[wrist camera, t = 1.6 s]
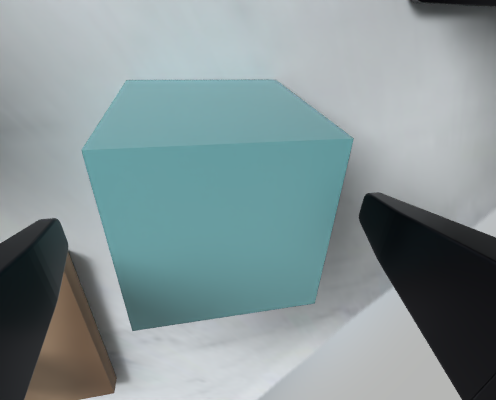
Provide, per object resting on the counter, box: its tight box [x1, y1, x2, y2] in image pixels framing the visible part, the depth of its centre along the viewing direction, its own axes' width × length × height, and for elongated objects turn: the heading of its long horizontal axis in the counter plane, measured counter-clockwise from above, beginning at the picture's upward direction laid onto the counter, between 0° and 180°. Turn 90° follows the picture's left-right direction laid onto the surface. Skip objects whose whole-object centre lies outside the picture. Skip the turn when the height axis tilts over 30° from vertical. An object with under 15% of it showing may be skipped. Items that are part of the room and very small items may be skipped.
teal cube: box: [82, 80, 354, 331], centre depth 11 cm, size 6×6×7 cm
